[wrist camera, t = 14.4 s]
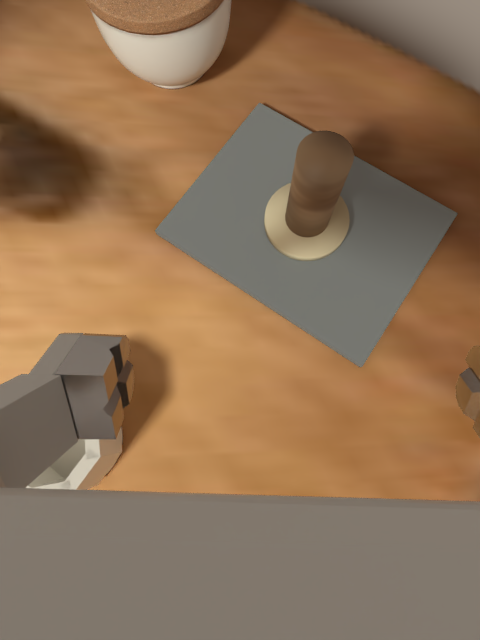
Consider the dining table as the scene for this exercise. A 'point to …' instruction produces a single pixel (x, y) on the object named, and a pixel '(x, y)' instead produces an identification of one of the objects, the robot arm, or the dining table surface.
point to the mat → (308, 276)
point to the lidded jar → (164, 36)
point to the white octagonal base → (81, 465)
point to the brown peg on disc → (312, 200)
